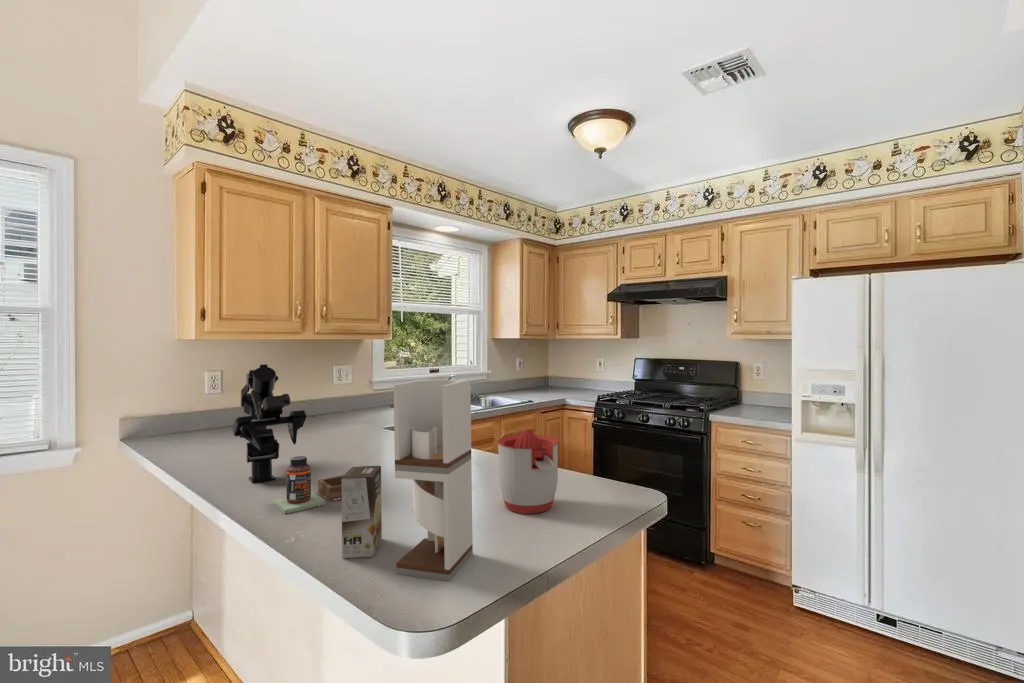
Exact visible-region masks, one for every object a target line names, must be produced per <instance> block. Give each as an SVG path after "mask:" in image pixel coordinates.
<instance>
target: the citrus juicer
mask: <svg viewBox="0 0 1024 683" xmlns="http://www.w3.org/2000/svg"><path fill="white" fill-rule="evenodd" d="M497 444H498V446H497V448H498V481H499V482H498V483H499V490H500V492H501V497H502V500H503V503H504V506H505V507H506V508H507V509H508V510H509V511H512V512H516V513H519V514H521V515H526V514H536V513H542V512H546V511H547V510H549V509H551V507H552V504H553V502H554V500H555V495H556V491H557V486H558V477H559V476H558V475H559V471H558V470H559V469H558V468H559V467H558V464H559V463H558V462H559V461H558V453H559V452H558V444H559V440H558V439H557V438H555V437H552V436H548V435H539V434H535V433H534V432H533V431H532V430H531V429H530V428H526V429H525V430H524V431H523V432H521V434H517V435H516V434H515V435H508V436H504V437H501V438H499V439H498V440H497Z"/></svg>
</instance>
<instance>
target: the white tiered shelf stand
mask: <svg viewBox="0 0 1024 683" xmlns="http://www.w3.org/2000/svg"><path fill="white" fill-rule="evenodd" d="M471 394H472V392H471V380H470V379H434V378H433V379H427V378H426V379H416V380H412V381H407V382H401V383H396V384H393V425H394V426H393V427H394V430H393V431H394V434H393V435H394V438H393V439H394V442H393V443H394V478H395V479H402V480H403V479H405V480H412V514H413V517H414V518H415V521H416V522H417V523H418V524H419V526H421V527H423V528H424V529H425V530H426V531H427V538H424V537H423V539H422V540H421V541H420V542H418V543H417V544H416V545H415V546H413V547H412V548H411V549H410V550H409V551H408V552H407V553H406V554H405V555H403V557H401V558H400V559H399V560H398V561H397V562H396V564H395V565H396V571H395V572H396V575H403V576H408V577H409V576H410V577H417V578H422V579H423V578H424V579H431V580H437V581H443V582H444V581H445V582H450V581H451V580H452V579H453V578H454V577H455V575H456V574H457V573H458V572H459V571H460V570H461V569H462V567H463V566H464V565H465V564H466V563H467V561H468V560H469V559H470V558H471V556H472V555H473V554H474V552H473V551H474V550H473V549H474V548H473V544H474V543H473V541H474V540H473V487H472V486H473V483H472V480H473V479H472V478H473V477H472V475H473V474H472V472H473V470H472V469H473V468H472V410H471V408H472V406H471V405H472V404H471V403H472V402H471V401H472V399H471Z"/></svg>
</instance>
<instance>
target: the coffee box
mask: <svg viewBox="0 0 1024 683" xmlns="http://www.w3.org/2000/svg"><path fill="white" fill-rule="evenodd" d="M343 475H344V476H343V477H342V478H341V487H342V499H341V558H342V559H353V558H372V557H374V555H375V553H376V552H377V550H378V547H379V545H380V543H381V542H382V539H383V538H382V537H383V536H382V535H383V534H382V532H383V529H382V528H383V526H382V524H383V523H382V519H383V518H382V466H381V465H363V466H361V465H360V466H352V467H351V468H350V469H349V470H347V471H346V472H345V474H343Z"/></svg>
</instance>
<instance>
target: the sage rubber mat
mask: <svg viewBox="0 0 1024 683" xmlns="http://www.w3.org/2000/svg"><path fill="white" fill-rule="evenodd" d="M273 504H274V506H276V505H277V506H276V507H277V508H278V509H279V510H280V512H282V513H283V514H284V515H286V514H285V513H287V514H290V513H289V512H292V513H296V512H299V511H298V510H301V511H303V510H302V509H305V510H307V509H306V508H310V509H312V508H311V507H314V508H316V507H315V506H318V507H320V506H319V505H323V506H325V505H326V500H324V499H323V498H322V497H320V496H319V495H318V494H316V493H315V492H313V491H311V498H310V499H309V500H308V501H306V502H302V503H289V502H287V496H285V497H283V498H278V499H274V500H273ZM324 504H325V505H324ZM295 511H296V512H295Z"/></svg>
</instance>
